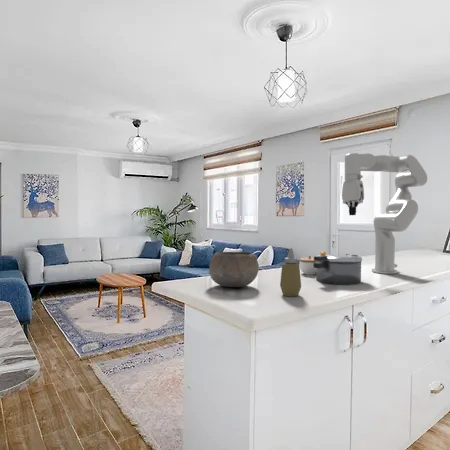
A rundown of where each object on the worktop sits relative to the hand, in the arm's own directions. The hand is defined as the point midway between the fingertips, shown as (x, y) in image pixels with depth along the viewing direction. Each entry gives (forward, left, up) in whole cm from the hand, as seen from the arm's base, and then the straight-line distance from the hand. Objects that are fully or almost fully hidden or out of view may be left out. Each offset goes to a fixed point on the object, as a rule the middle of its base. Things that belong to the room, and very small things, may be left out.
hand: (352, 215), depth 180 cm
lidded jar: (+12, -17, -31) cm, 37 cm away
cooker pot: (+20, +4, -31) cm, 37 cm away
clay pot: (+65, -14, -31) cm, 73 cm away
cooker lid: (+19, +4, -21) cm, 29 cm away
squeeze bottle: (+57, +11, -31) cm, 66 cm away
